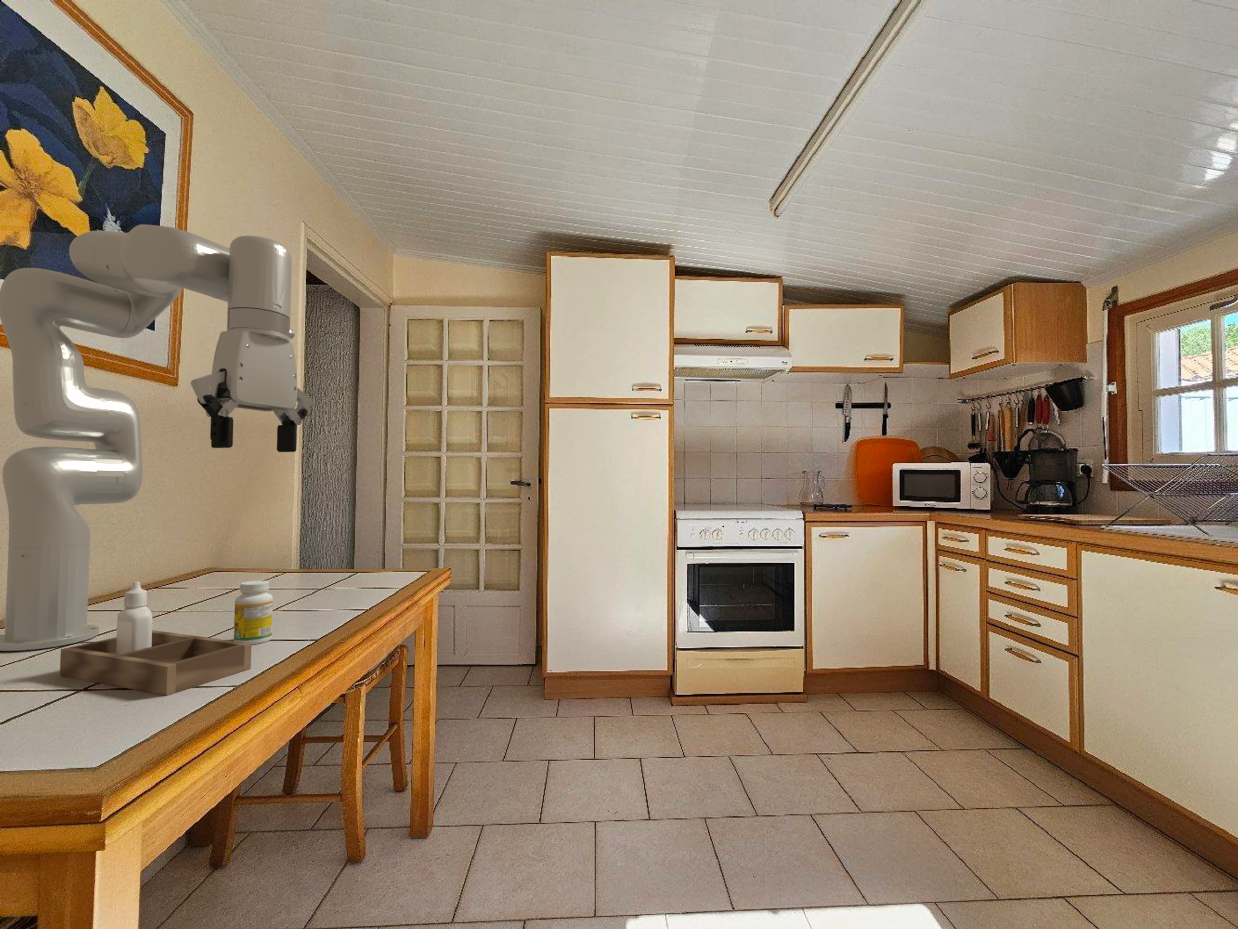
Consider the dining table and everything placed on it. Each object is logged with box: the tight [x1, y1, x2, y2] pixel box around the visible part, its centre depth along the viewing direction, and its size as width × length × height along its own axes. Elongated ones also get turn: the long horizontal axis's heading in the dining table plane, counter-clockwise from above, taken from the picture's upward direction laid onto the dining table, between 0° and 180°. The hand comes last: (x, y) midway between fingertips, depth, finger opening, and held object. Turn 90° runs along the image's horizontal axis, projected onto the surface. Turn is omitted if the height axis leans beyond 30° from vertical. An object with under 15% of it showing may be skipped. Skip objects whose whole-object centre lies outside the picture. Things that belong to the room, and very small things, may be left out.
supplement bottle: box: [233, 580, 274, 646], centre depth 95 cm, size 5×5×10 cm
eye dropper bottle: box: [116, 580, 153, 655], centre depth 81 cm, size 4×6×12 cm
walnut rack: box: [59, 629, 252, 696], centre depth 79 cm, size 21×11×4 cm, turn 71°
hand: (255, 449), depth 81 cm, fingers open, 9 cm apart
